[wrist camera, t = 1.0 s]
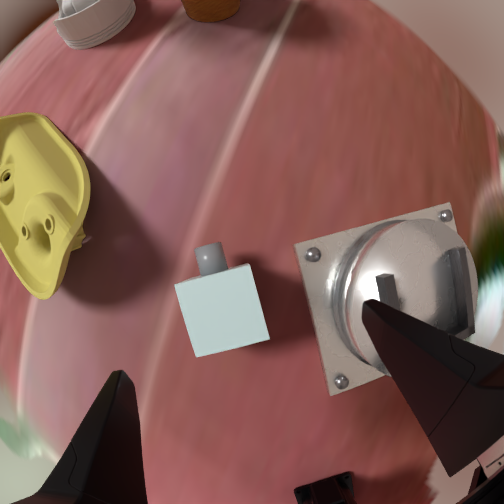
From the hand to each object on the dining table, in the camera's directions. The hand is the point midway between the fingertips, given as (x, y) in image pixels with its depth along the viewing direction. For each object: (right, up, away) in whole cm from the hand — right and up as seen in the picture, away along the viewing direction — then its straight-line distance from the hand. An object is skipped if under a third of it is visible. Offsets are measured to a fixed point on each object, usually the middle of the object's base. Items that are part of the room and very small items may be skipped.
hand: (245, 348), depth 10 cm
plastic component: (-21, +8, +15) cm, 27 cm away
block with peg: (-2, -1, +15) cm, 15 cm away
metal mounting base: (+14, -1, +15) cm, 20 cm away
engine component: (-19, +32, +15) cm, 40 cm away
